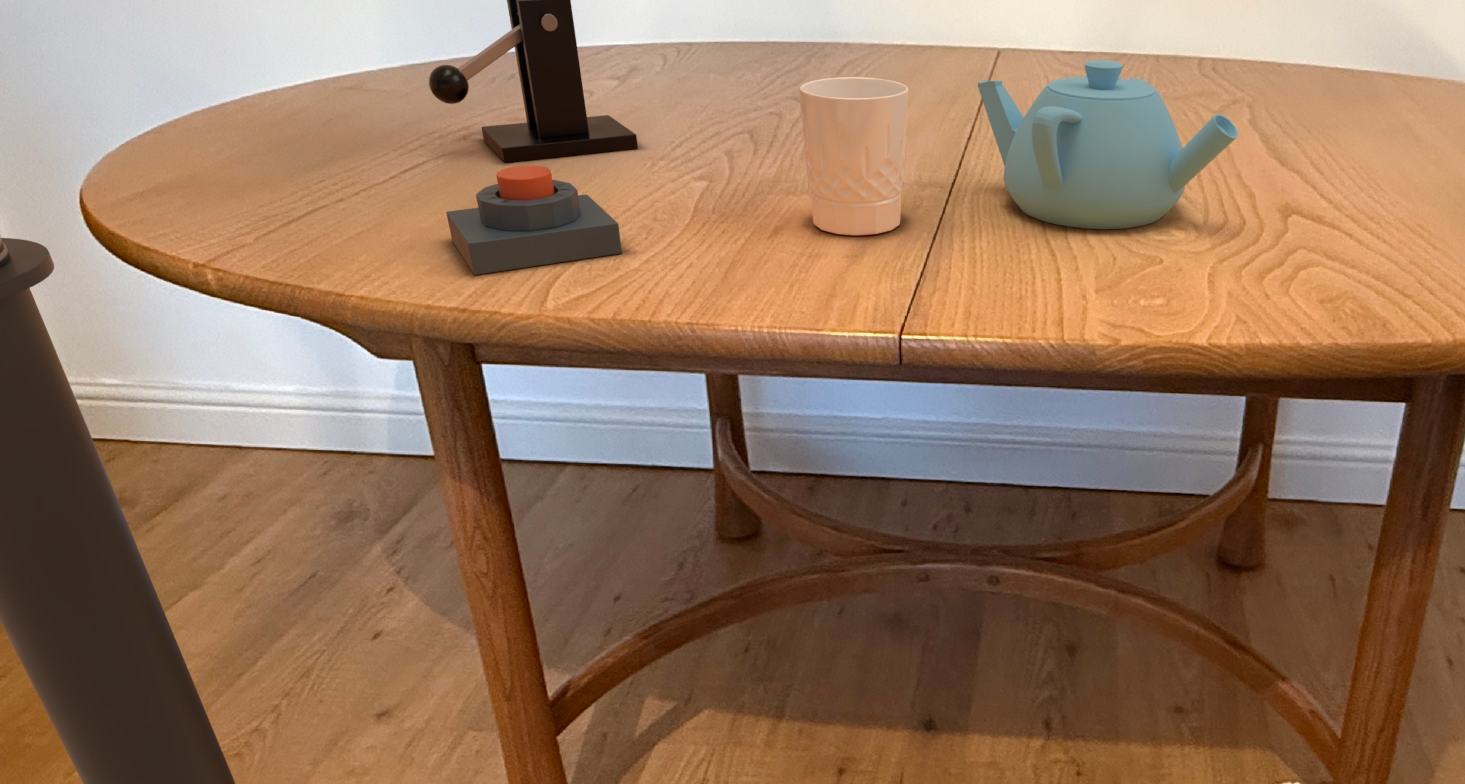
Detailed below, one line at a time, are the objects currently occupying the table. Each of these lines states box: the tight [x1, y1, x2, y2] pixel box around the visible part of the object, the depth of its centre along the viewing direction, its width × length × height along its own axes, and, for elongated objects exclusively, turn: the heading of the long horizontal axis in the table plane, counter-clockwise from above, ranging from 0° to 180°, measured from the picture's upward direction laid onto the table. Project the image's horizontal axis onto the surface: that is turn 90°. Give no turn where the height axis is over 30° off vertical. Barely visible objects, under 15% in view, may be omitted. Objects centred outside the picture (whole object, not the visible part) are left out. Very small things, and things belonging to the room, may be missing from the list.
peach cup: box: [799, 76, 909, 236], centre depth 85 cm, size 8×8×10 cm
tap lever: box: [428, 13, 523, 105], centre depth 100 cm, size 13×3×3 cm, turn 120°
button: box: [495, 165, 555, 200], centre depth 79 cm, size 4×4×2 cm
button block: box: [446, 179, 623, 276], centre depth 80 cm, size 10×8×4 cm
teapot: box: [977, 59, 1239, 230], centre depth 90 cm, size 15×17×11 cm
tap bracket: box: [481, 0, 639, 164], centre depth 103 cm, size 12×9×13 cm
